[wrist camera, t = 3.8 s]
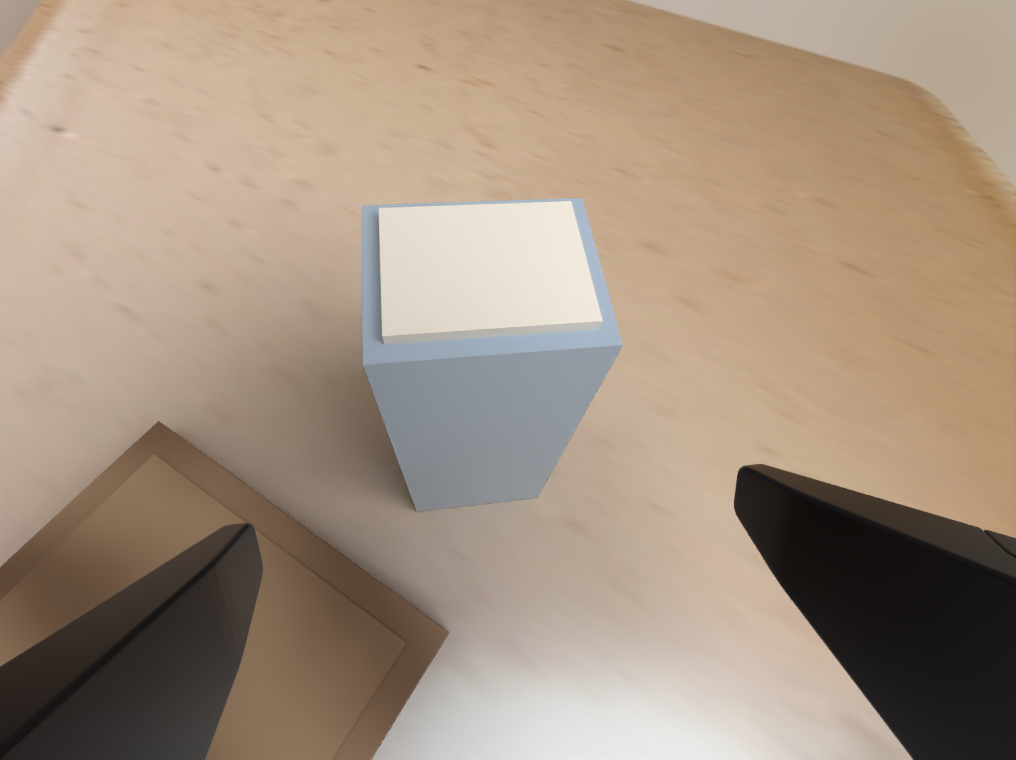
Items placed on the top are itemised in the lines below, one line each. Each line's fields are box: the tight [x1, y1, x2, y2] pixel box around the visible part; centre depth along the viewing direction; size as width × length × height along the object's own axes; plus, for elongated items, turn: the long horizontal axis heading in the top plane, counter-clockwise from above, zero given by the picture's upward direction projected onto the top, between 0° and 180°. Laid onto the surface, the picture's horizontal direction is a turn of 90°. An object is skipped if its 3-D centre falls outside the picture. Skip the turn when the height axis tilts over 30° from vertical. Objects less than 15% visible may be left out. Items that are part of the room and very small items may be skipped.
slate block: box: [362, 198, 623, 512], centre depth 16 cm, size 4×5×13 cm
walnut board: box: [0, 421, 449, 760], centre depth 16 cm, size 14×14×1 cm
